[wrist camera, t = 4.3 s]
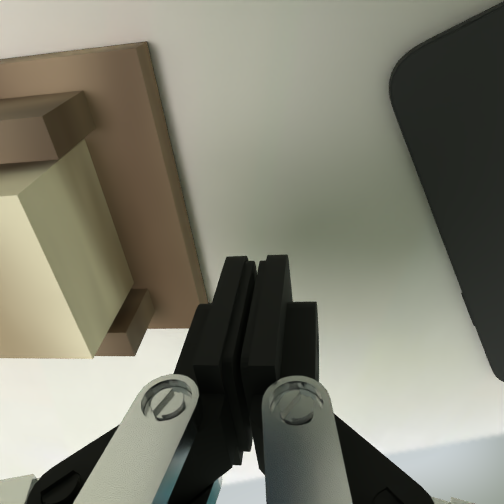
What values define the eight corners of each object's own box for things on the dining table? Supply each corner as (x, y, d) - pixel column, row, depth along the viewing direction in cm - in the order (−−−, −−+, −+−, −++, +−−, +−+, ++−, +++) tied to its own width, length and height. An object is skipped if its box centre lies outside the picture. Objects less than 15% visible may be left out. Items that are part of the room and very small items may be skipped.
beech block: (84, 138, 15) (17, 195, 11) (134, 283, 18) (92, 358, 15) (-73, 151, 16) (-176, 207, 12) (1, 285, 19) (-65, 357, 16)
